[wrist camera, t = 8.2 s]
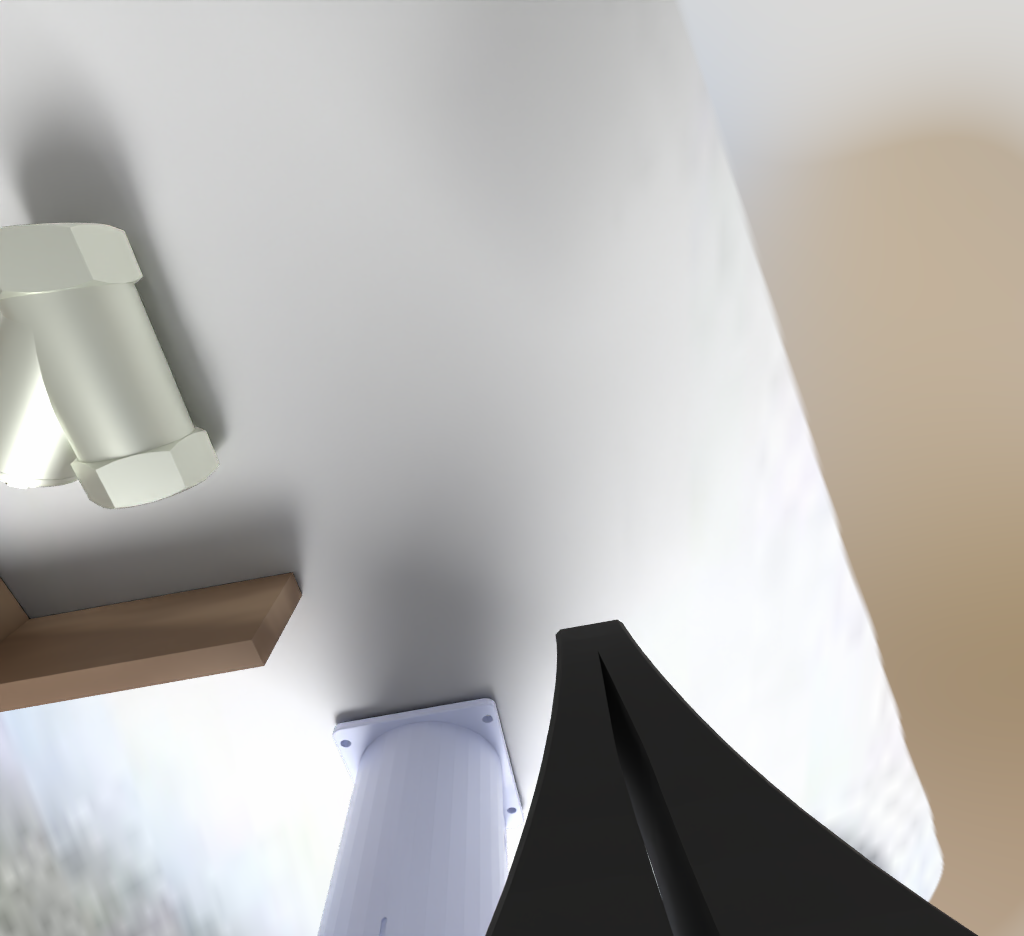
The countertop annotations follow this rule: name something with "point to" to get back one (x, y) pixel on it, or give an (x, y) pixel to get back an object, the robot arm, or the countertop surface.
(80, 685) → the corner arena
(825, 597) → the countertop surface
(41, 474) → the pipe fitting
